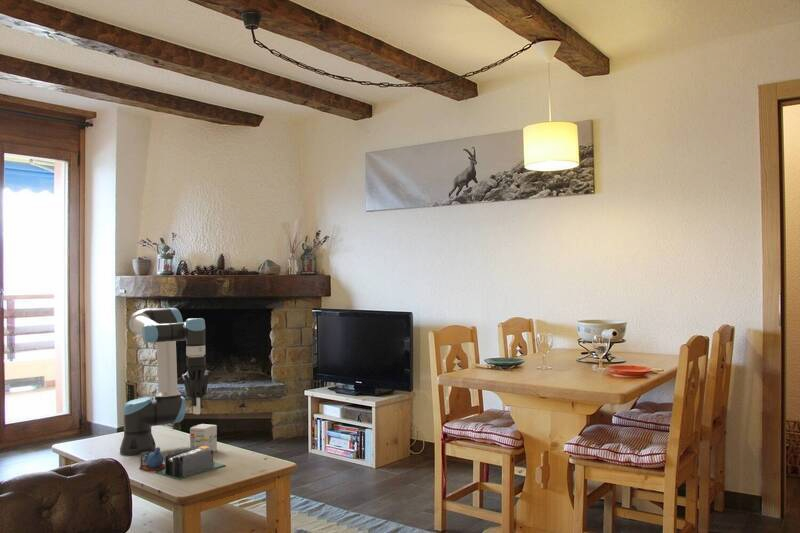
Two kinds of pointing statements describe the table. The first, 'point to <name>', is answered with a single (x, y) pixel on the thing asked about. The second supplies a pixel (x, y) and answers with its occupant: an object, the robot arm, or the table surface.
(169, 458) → the white flat bar
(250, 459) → the table surface
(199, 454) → the heatsink base
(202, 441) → the ink box
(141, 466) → the model
